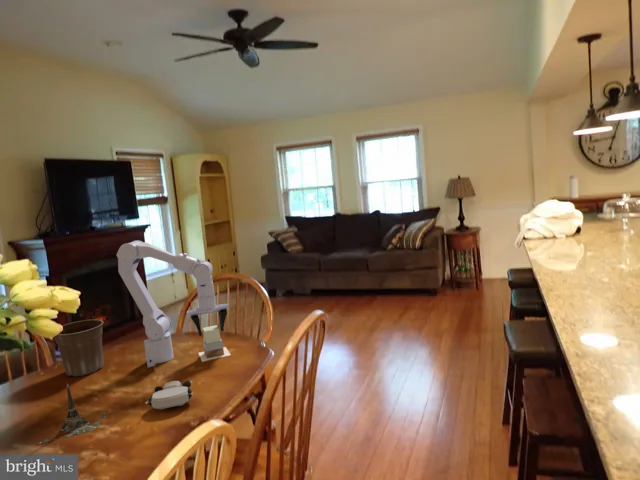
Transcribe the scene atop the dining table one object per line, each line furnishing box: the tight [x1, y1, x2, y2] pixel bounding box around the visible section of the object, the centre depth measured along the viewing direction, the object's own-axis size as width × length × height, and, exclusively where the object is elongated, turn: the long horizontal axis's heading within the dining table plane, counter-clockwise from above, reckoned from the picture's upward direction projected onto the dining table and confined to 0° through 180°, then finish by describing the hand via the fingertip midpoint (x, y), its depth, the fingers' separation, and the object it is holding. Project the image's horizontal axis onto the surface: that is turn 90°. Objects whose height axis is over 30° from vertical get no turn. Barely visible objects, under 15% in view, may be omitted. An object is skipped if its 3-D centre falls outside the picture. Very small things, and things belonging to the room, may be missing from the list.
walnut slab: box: [203, 347, 224, 358], centre depth 166 cm, size 6×6×2 cm
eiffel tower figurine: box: [39, 383, 106, 445], centre depth 123 cm, size 15×10×13 cm
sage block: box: [202, 324, 222, 344], centre depth 165 cm, size 5×5×4 cm
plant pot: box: [54, 319, 105, 377], centre depth 164 cm, size 16×16×16 cm
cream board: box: [198, 346, 232, 363], centre depth 166 cm, size 10×10×1 cm
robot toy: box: [145, 380, 194, 411], centre depth 133 cm, size 12×4×15 cm
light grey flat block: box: [202, 337, 224, 352], centre depth 166 cm, size 6×6×2 cm
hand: (211, 332), depth 165 cm, fingers open, 7 cm apart
